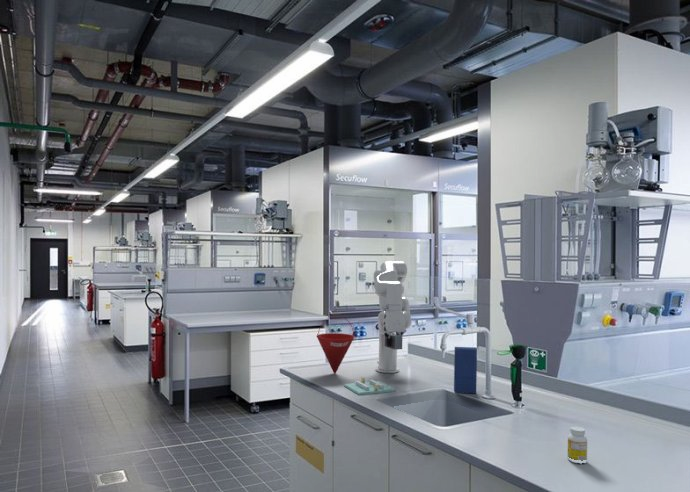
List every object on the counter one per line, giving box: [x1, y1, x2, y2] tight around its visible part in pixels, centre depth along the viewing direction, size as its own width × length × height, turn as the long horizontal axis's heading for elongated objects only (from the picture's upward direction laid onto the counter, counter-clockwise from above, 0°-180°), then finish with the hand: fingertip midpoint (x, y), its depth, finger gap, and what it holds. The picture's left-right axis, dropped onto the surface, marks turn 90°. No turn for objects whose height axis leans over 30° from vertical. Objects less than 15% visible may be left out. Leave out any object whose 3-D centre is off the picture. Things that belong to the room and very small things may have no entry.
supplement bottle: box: [567, 426, 588, 461], centre depth 152 cm, size 5×5×10 cm
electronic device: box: [453, 346, 478, 395], centre depth 229 cm, size 10×5×20 cm, turn 84°
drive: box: [385, 333, 403, 351], centre depth 245 cm, size 10×4×6 cm, turn 25°
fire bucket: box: [316, 314, 356, 374], centre depth 260 cm, size 22×20×30 cm
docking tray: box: [343, 376, 396, 396], centre depth 231 cm, size 16×18×4 cm
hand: (393, 345), depth 245 cm, fingers closed on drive, 4 cm apart
